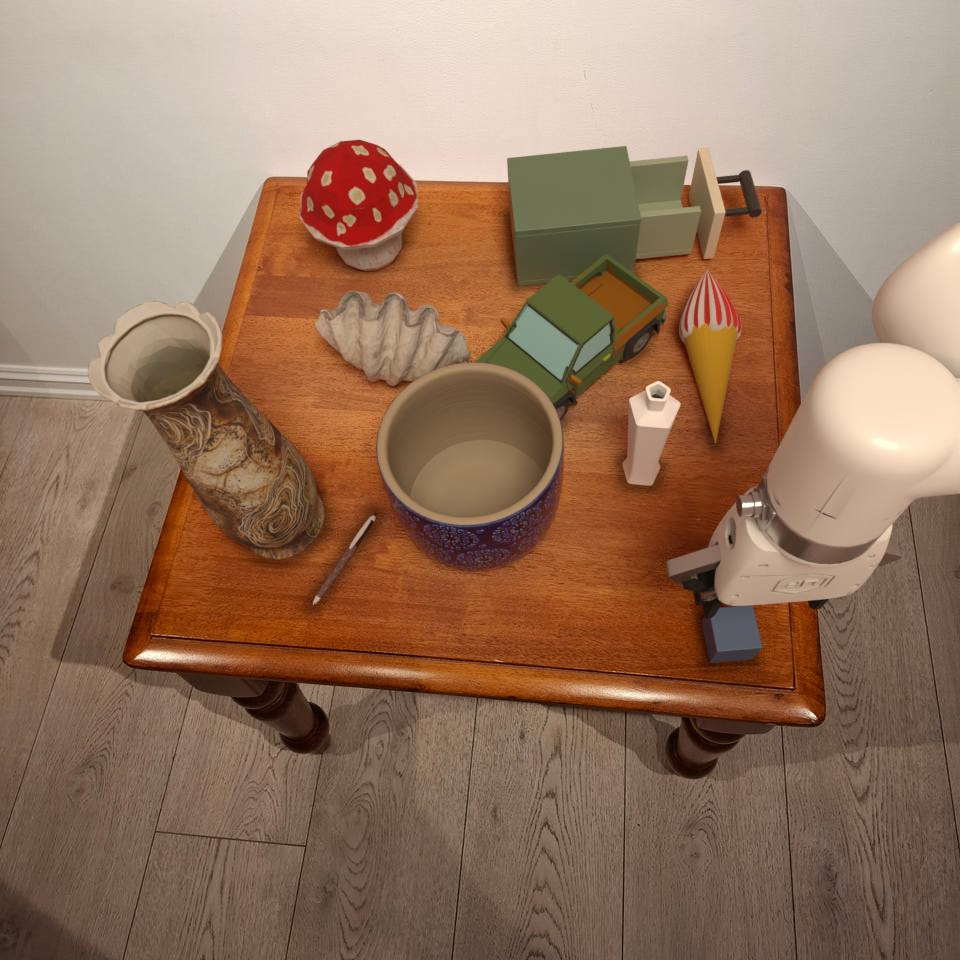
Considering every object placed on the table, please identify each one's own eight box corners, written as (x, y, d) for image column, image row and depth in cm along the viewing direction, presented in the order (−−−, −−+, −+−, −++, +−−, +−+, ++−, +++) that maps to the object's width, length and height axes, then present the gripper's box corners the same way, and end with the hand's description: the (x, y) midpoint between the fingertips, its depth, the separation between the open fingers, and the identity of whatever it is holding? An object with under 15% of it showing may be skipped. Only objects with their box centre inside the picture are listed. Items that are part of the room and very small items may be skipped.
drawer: (738, 191, 102) (752, 142, 95) (756, 254, 97) (771, 207, 91) (595, 205, 102) (598, 158, 96) (606, 268, 98) (610, 223, 91)
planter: (589, 478, 87) (597, 402, 73) (514, 615, 81) (508, 559, 68) (451, 417, 91) (434, 334, 78) (370, 542, 85) (338, 476, 72)
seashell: (373, 306, 99) (356, 247, 90) (479, 359, 94) (472, 303, 86) (320, 369, 95) (297, 314, 86) (427, 427, 91) (414, 375, 82)
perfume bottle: (669, 485, 86) (692, 408, 72) (627, 493, 86) (642, 417, 72) (657, 446, 88) (677, 365, 75) (616, 454, 88) (629, 374, 74)
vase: (315, 572, 84) (208, 419, 57) (215, 559, 86) (65, 404, 59) (339, 480, 89) (250, 299, 62) (244, 469, 90) (117, 287, 63)
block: (743, 617, 79) (753, 604, 76) (752, 659, 77) (762, 647, 74) (701, 621, 79) (708, 608, 76) (709, 663, 77) (717, 651, 74)
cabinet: (620, 204, 103) (626, 145, 95) (633, 275, 98) (641, 218, 90) (509, 215, 104) (506, 157, 96) (517, 286, 99) (515, 231, 91)
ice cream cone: (698, 455, 92) (690, 286, 96) (755, 447, 88) (745, 271, 93) (673, 443, 87) (667, 266, 92) (732, 433, 83) (723, 249, 88)
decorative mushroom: (413, 303, 99) (392, 209, 85) (301, 289, 101) (264, 195, 87) (439, 215, 105) (424, 114, 91) (333, 203, 107) (303, 103, 93)
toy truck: (464, 390, 93) (455, 336, 84) (598, 280, 98) (604, 218, 89) (536, 455, 88) (536, 404, 80) (673, 336, 94) (686, 276, 85)
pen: (373, 513, 87) (372, 509, 86) (380, 516, 87) (378, 512, 86) (310, 604, 83) (307, 601, 82) (316, 608, 83) (314, 605, 82)
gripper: (690, 571, 50) (655, 651, 66) (988, 546, 49) (881, 632, 65) (669, 460, 53) (640, 561, 69) (947, 435, 53) (855, 542, 68)
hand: (757, 595), depth 67 cm, fingers open, 7 cm apart
